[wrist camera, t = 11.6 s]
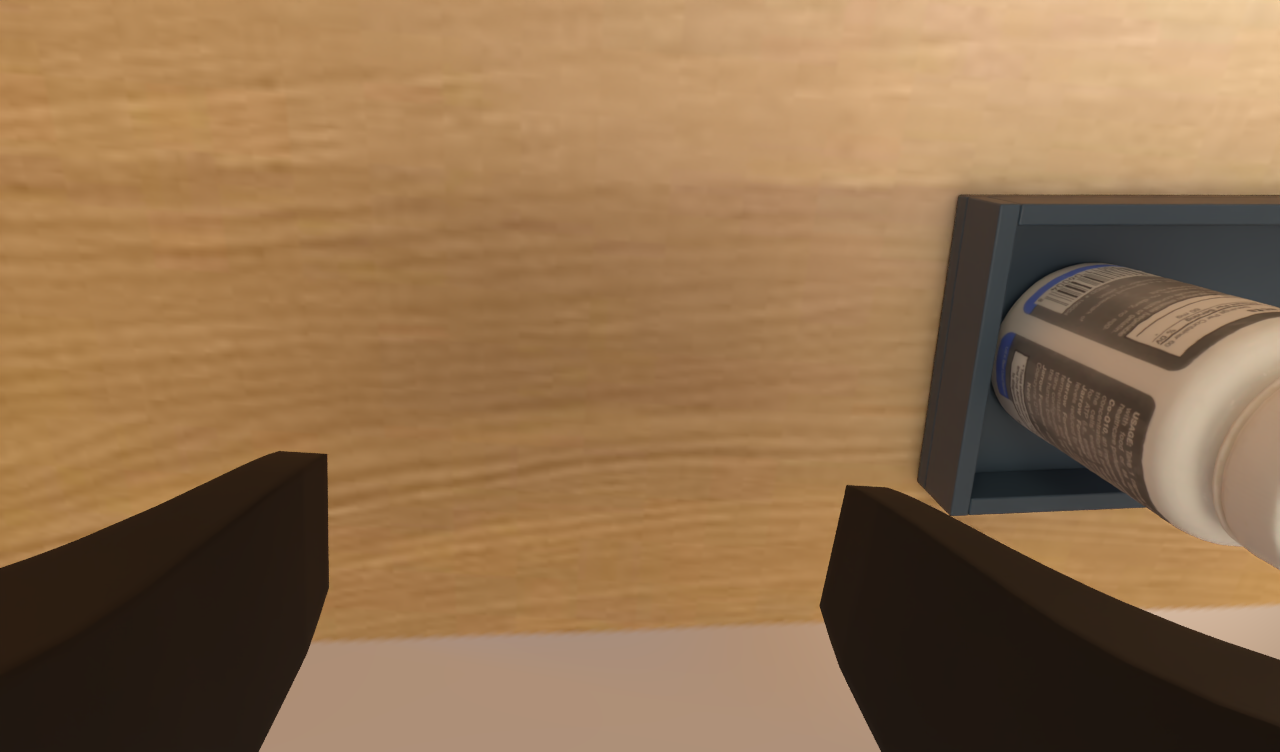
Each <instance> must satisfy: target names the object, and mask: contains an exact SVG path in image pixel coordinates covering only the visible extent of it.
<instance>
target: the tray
mask: <svg viewBox="0 0 1280 752" xmlns="http://www.w3.org/2000/svg"><path fill="white" fill-rule="evenodd" d="M1082 263H1106V264H1112V265H1117V266H1122V267H1126V268H1130V269H1134V270H1138V271H1142V272H1145V273H1149V274H1153V275H1156V276H1160V277H1164V278H1169V279H1173V280H1176V281H1180V282H1183V283H1188V284H1193V285H1196V286H1199V287H1203V288H1206V289H1210V290H1213V291H1217V292H1221V293H1224V294H1229V295H1232V296H1236V297H1240V298H1244V299H1248V300H1252V301H1256V302H1259V303H1263V304H1267V305H1271V306H1275V307H1278V308H1280V195H960V196H959V197H958V204H957V211H956V217H955V224H954V231H953V238H952V245H951V252H950V259H949V266H948V273H947V280H946V286H945V293H944V300H943V307H942V314H941V321H940V328H939V335H938V342H937V349H936V355H935V362H934V369H933V376H932V383H931V390H930V397H929V404H928V411H927V418H926V424H925V431H924V438H923V445H922V452H921V459H920V466H919V473H918V480H917V481H918V483H919V484H920V485H921V486H922V487H923V488H924V489H925V490H926V491H927V492H928V493H929V494H930V495H931V496H932V497H933V498H934V499H935V500H936V502H937V503H938V504H939V505H940V506H941V507H942V508H943V509H944V510H945V511H946V512H947V513H948V514H949V515H950V516H962V515H968V514H969V515H982V514H1005V513H1028V512H1051V511H1074V510H1097V509H1120V508H1143V507H1145V506H1143V505H1142V504H1140V503H1139V502H1137V501H1136V500H1134V499H1133V498H1131V497H1130V496H1129V495H1127V494H1126V493H1124V492H1122V491H1121V490H1119V489H1118V488H1116V487H1115V486H1113V485H1112V484H1110V483H1109V482H1107V481H1105V480H1104V479H1102V478H1101V477H1100V476H1098V475H1097V474H1095V473H1094V472H1092V471H1090V470H1089V469H1087V468H1086V467H1085V466H1083V465H1082V464H1080V463H1079V462H1077V461H1075V460H1074V459H1072V458H1071V457H1069V456H1068V455H1067V454H1065V453H1064V452H1062V451H1061V450H1059V449H1058V448H1056V447H1055V446H1053V445H1051V444H1050V443H1048V442H1047V441H1045V440H1044V439H1042V438H1041V437H1039V436H1038V435H1036V434H1034V433H1033V432H1032V431H1030V430H1028V429H1027V428H1026V427H1024V426H1023V425H1021V424H1020V423H1019V422H1017V421H1016V420H1015V419H1014V418H1013V417H1011V416H1010V415H1009V414H1008V413H1007V412H1006V410H1005V409H1004V408H1003V407H1002V405H1001V404H1000V402H999V400H998V398H997V396H996V394H995V391H994V388H993V385H992V381H991V376H992V370H993V365H994V359H995V353H996V347H997V341H998V335H999V330H1000V325H1001V323H1002V321H1003V320H1004V318H1005V316H1006V315H1007V313H1008V311H1009V310H1010V309H1011V307H1012V306H1013V305H1014V304H1015V302H1016V301H1017V300H1018V299H1019V298H1020V297H1021V296H1022V294H1023V293H1025V292H1026V291H1027V290H1028V289H1029V288H1030V287H1031V286H1032V285H1033V284H1034V283H1036V282H1037V281H1039V280H1040V279H1042V278H1044V277H1045V276H1047V275H1049V274H1051V273H1053V272H1055V271H1058V270H1060V269H1063V268H1066V267H1069V266H1073V265H1077V264H1082Z"/></svg>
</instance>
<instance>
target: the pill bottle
mask: <svg viewBox="0 0 1280 752" xmlns="http://www.w3.org/2000/svg"><path fill="white" fill-rule="evenodd" d="M991 381H992V385H993V388H994V391H995V394H996V396H997V398H998V400H999V402H1000V404H1001V405H1002V407H1003V408H1004V409H1005V410H1006V412H1007V413H1008V414H1009V415H1010V416H1011V417H1013V418H1014V419H1015V420H1016V421H1017V422H1019V423H1020V424H1021V425H1023V426H1024V427H1026V428H1027V429H1028V430H1030V431H1032V432H1033V433H1034V434H1036V435H1038V436H1039V437H1041V438H1042V439H1044V440H1045V441H1047V442H1048V443H1050V444H1051V445H1053V446H1055V447H1056V448H1058V449H1059V450H1061V451H1062V452H1064V453H1065V454H1067V455H1068V456H1069V457H1071V458H1072V459H1074V460H1075V461H1077V462H1079V463H1080V464H1082V465H1083V466H1085V467H1086V468H1087V469H1089V470H1090V471H1092V472H1094V473H1095V474H1097V475H1098V476H1100V477H1101V478H1102V479H1104V480H1105V481H1107V482H1109V483H1110V484H1112V485H1113V486H1115V487H1116V488H1118V489H1119V490H1121V491H1122V492H1124V493H1126V494H1127V495H1129V496H1130V497H1131V498H1133V499H1134V500H1136V501H1137V502H1139V503H1140V504H1142V505H1143V506H1145V507H1147V508H1148V509H1150V510H1151V511H1153V512H1154V513H1156V514H1157V515H1159V516H1160V517H1161V518H1163V519H1164V520H1166V521H1167V522H1169V523H1170V524H1172V525H1173V526H1175V527H1176V528H1178V529H1180V530H1182V531H1184V532H1186V533H1188V534H1190V535H1192V536H1194V537H1197V538H1199V539H1202V540H1204V541H1208V542H1212V543H1215V544H1221V545H1228V546H1243V547H1244V548H1246V549H1247V550H1249V551H1250V552H1251V553H1252V554H1254V555H1255V556H1257V557H1258V558H1260V559H1262V560H1264V561H1265V562H1267V563H1269V564H1271V565H1272V566H1274V567H1276V568H1277V569H1279V570H1280V308H1278V307H1275V306H1271V305H1267V304H1263V303H1259V302H1256V301H1252V300H1248V299H1244V298H1240V297H1236V296H1232V295H1229V294H1224V293H1221V292H1217V291H1213V290H1210V289H1206V288H1203V287H1199V286H1196V285H1193V284H1188V283H1183V282H1180V281H1176V280H1173V279H1169V278H1164V277H1160V276H1156V275H1153V274H1149V273H1145V272H1142V271H1138V270H1134V269H1130V268H1126V267H1122V266H1117V265H1112V264H1106V263H1082V264H1077V265H1073V266H1069V267H1066V268H1063V269H1060V270H1058V271H1055V272H1053V273H1051V274H1049V275H1047V276H1045V277H1044V278H1042V279H1040V280H1039V281H1037V282H1036V283H1034V284H1033V285H1032V286H1031V287H1030V288H1029V289H1028V290H1027V291H1026V292H1025V293H1023V294H1022V296H1021V297H1020V298H1019V299H1018V300H1017V301H1016V302H1015V304H1014V305H1013V306H1012V307H1011V309H1010V310H1009V311H1008V313H1007V315H1006V316H1005V318H1004V320H1003V321H1002V323H1001V325H1000V330H999V335H998V341H997V347H996V353H995V359H994V365H993V370H992V376H991Z"/></svg>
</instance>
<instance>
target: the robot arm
mask: <svg viewBox="0 0 1280 752" xmlns="http://www.w3.org/2000/svg"><path fill="white" fill-rule="evenodd" d="M328 589H329V558H328V478H327V454H318V453H301V452H285V451H278V452H275V453H271V454H268V455H266V456H263V457H261V458H258V459H256V460H254V461H251V462H249V463H247V464H245V465H242V466H240V467H238V468H236V469H234V470H232V471H230V472H228V473H225V474H223V475H221V476H219V477H217V478H215V479H213V480H211V481H209V482H207V483H205V484H202V485H200V486H198V487H196V488H194V489H192V490H190V491H188V492H185V493H183V494H181V495H179V496H177V497H175V498H173V499H171V500H169V501H166V502H164V503H162V504H160V505H158V506H156V507H153V508H151V509H149V510H146V511H144V512H142V513H139V514H137V515H135V516H132V517H130V518H128V519H125V520H123V521H121V522H118V523H116V524H114V525H111V526H109V527H107V528H104V529H102V530H100V531H97V532H95V533H93V534H90V535H88V536H86V537H83V538H81V539H79V540H76V541H74V542H71V543H68V544H66V545H63V546H61V547H58V548H56V549H53V550H50V551H47V552H45V553H42V554H39V555H37V556H34V557H31V558H28V559H26V560H23V561H20V562H17V563H14V564H11V565H8V566H5V567H2V568H0V752H259V750H260V748H261V746H262V744H263V742H264V740H265V737H266V736H267V734H268V732H269V729H270V728H271V726H272V723H273V722H274V720H275V718H276V716H277V714H278V712H279V710H280V708H281V705H282V704H283V702H284V700H285V698H286V695H287V693H288V691H289V689H290V687H291V685H292V683H293V681H294V679H295V677H296V675H297V673H298V671H299V669H300V667H301V665H302V663H303V660H304V658H305V656H306V654H307V652H308V649H309V646H310V643H311V640H312V638H313V635H314V632H315V629H316V626H317V623H318V620H319V617H320V614H321V611H322V607H323V604H324V601H325V598H326V595H327V592H328ZM820 609H821V612H822V615H823V618H824V622H825V625H826V628H827V632H828V635H829V638H830V641H831V644H832V646H833V650H834V652H835V655H836V658H837V661H838V664H839V667H840V669H841V671H842V673H843V675H844V677H845V680H846V682H847V684H848V686H849V688H850V690H851V692H852V694H853V696H854V698H855V700H856V702H857V704H858V706H859V708H860V710H861V712H862V714H863V716H864V718H865V720H866V722H867V724H868V726H869V728H870V730H871V732H872V734H873V736H874V738H875V740H876V742H877V744H878V746H879V748H880V750H881V752H1280V660H1279V659H1276V658H1272V657H1269V656H1266V655H1264V654H1261V653H1258V652H1255V651H1251V650H1249V649H1246V648H1243V647H1240V646H1237V645H1234V644H1230V643H1228V642H1225V641H1222V640H1219V639H1216V638H1214V637H1211V636H1208V635H1205V634H1203V633H1200V632H1197V631H1195V630H1192V629H1189V628H1187V627H1184V626H1181V625H1179V624H1176V623H1174V622H1171V621H1169V620H1166V619H1164V618H1161V617H1159V616H1157V615H1154V614H1152V613H1149V612H1147V611H1144V610H1142V609H1139V608H1137V607H1134V606H1132V605H1129V604H1127V603H1124V602H1122V601H1120V600H1118V599H1115V598H1113V597H1111V596H1109V595H1106V594H1104V593H1102V592H1100V591H1097V590H1095V589H1093V588H1091V587H1089V586H1087V585H1085V584H1082V583H1080V582H1078V581H1076V580H1074V579H1072V578H1070V577H1068V576H1066V575H1064V574H1061V573H1059V572H1057V571H1055V570H1053V569H1051V568H1049V567H1047V566H1045V565H1043V564H1041V563H1039V562H1037V561H1035V560H1033V559H1031V558H1029V557H1027V556H1025V555H1023V554H1021V553H1019V552H1017V551H1015V550H1013V549H1011V548H1009V547H1008V546H1006V545H1004V544H1002V543H1000V542H998V541H996V540H994V539H992V538H990V537H988V536H987V535H985V534H983V533H981V532H979V531H977V530H975V529H973V528H971V527H970V526H968V525H966V524H964V523H962V522H960V521H958V520H956V519H954V518H952V517H951V516H949V515H947V514H945V513H943V512H941V511H939V510H937V509H935V508H933V507H931V506H929V505H927V504H925V503H923V502H921V501H919V500H917V499H915V498H912V497H910V496H908V495H906V494H903V493H901V492H898V491H895V490H892V489H890V488H886V487H869V486H852V485H847V486H846V490H845V495H844V499H843V504H842V508H841V513H840V517H839V521H838V526H837V530H836V535H835V539H834V544H833V548H832V553H831V557H830V562H829V566H828V571H827V575H826V580H825V584H824V588H823V593H822V597H821V602H820Z"/></svg>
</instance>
